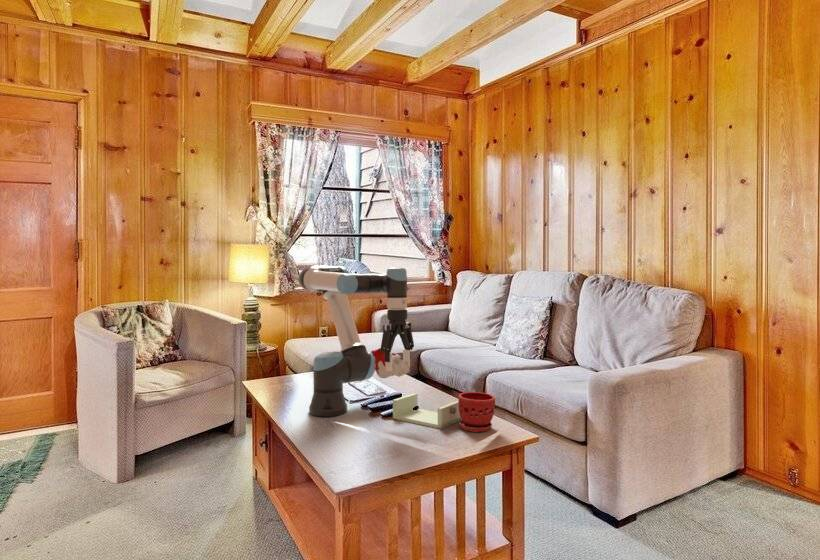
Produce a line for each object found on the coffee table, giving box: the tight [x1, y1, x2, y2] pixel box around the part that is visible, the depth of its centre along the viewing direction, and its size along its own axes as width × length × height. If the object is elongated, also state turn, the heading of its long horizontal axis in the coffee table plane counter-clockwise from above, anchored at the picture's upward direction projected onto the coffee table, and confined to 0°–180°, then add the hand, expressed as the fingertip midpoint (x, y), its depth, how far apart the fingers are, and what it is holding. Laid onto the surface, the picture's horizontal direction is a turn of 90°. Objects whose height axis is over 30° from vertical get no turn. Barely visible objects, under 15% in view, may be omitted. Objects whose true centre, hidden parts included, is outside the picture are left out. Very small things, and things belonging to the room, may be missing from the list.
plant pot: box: [457, 391, 496, 433], centre depth 183 cm, size 13×13×12 cm
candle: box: [370, 347, 411, 379], centre depth 192 cm, size 9×11×15 cm
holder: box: [392, 393, 462, 430], centre depth 194 cm, size 25×14×7 cm, turn 53°
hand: (398, 368), depth 191 cm, fingers closed on candle, 9 cm apart
